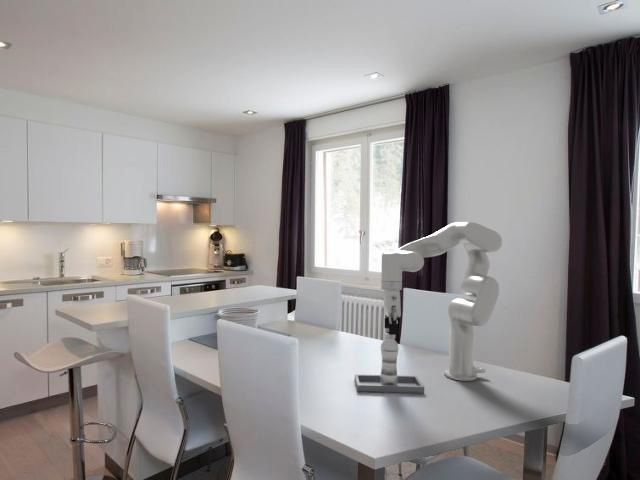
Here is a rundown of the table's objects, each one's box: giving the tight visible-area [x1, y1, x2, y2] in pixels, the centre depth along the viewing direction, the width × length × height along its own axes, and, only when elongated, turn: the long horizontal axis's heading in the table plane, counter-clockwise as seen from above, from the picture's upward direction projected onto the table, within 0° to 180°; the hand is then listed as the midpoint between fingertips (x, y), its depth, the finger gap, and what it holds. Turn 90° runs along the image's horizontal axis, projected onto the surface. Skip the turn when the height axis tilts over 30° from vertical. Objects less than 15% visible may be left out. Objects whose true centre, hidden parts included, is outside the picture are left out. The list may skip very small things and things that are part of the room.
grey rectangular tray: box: [354, 373, 425, 395], centre depth 164 cm, size 24×12×3 cm, turn 91°
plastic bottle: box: [379, 331, 400, 385], centre depth 163 cm, size 6×7×20 cm
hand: (390, 331), depth 163 cm, fingers open, 9 cm apart
